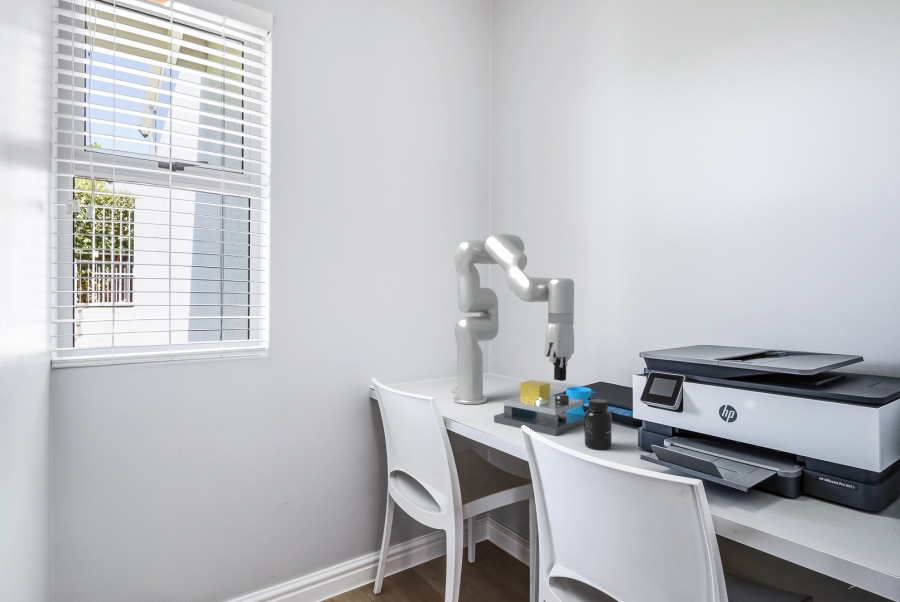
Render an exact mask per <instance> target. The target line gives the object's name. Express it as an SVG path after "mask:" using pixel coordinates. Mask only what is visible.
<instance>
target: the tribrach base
mask: <svg viewBox="0 0 900 602" xmlns="http://www.w3.org/2000/svg"><path fill="white" fill-rule="evenodd" d="M493 422H494V423H497V424H501V425H505V426H509V427H514V428H519V429H521V428H520V427H521V426H522V425H525V426H527V427H529V428H530V429H532V430H534V431H533V432H537V433H540V434H545V435H550V436H554V437H556V436H559V435H561V434H564V433H567V432H569V431H570V430H571V431H572V430H573V429H576V428H578V427H581V426H583V425H585V416H584V415H579V414H573V413H568V412H563V413H560V414H557V415H552V414H547V413H542V412H537V411H531V410H526V409H521V408H516V407H511V406H506V405H505V404H504V405H503V412H500V413H498V414H495V415H493Z"/></svg>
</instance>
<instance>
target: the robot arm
mask: <svg viewBox="0 0 900 602" xmlns="http://www.w3.org/2000/svg"><path fill="white" fill-rule="evenodd" d="M454 251H455V252H454V256H453V257H454V266H455V270H456V278H457V279H456V280H457V281H456V282H457V285H456V286H457V305H458V308H459V310H460V311H461V312H462V313H467V314H469V313H470V314H472V313H473V314H477V313H478V314H479V316H478V315H474V316H473V315H472V316H463V317H461V318H459V319H458V320H457V321H456V322H455V324H454V328H453V329H454V331H453V332H454V337H455V341H456V342H455V343H456V353H457V355H456V357H457V358H456V359H457V361H456V362H457V364H456V365H457V367H456V369H457V387H456V386H453V388H452V389H451V390H450V392H451V393H452V394H455V396H454V397H453V402H454V403H456V404H461V405H462V404H463V405H479V404H484V403H486V402H488V397H487V396H485V395H484V367H483V366H484V357H483V356H484V355H483V351H482V350H483V349H482V348H481V346H480V344H479V342H487V341H488V342H489V341H493V340H494V339H495V338H497V336H498V333H499V327H500V326H499V301H498V300H499V299H498V295H497V294H496V292H495V291H494V290H493V289H492V288H489V287H481V275H480V273H479V270H478V269H477V266H475V265H476V264H479V265H480V264H482V265H497V264H498V266H499V267H500V268H501V269H503V271H504V272H505V280H506V284H507V286H508V287H509V289H510V290H511V291H512V292H513V293H514V295H515V296H517V297H518V298H519V299H520V300H522V301H524V302H527V303H537V302H539V303H543V302H544V303H545V302H546V303H547V302H548V304H547V307H548V308H547V311H548V312H547V314H548V315H547V325H546V331H545V338H544V340H545V341H544V355H545V357H547V358H549V359H548V361H549V362H550V363H552V365H553V371H554V372H553V380H555V381H561V382H564V381H566V380H567V367H568V362H569V360H570V359H571V358H572V355H574V353H575V333H574V332H575V330H574V324H575V323H574V321H575V320H574V319H575V281H574V280H573V279H572V278H565V277H560V278H558V277H557V278H551V277H534V276H533V277H530V276H528V275H527V274H526V272H524V269H525V268H526V266H527V265H528V257H527V255H526V254H525V244H524V241H523V239H522V238H521V237H520V236H518V235H515V234H507V233H506V234H505V233H494V234H491V235H490V236H488V237H487V238H486V240H481V239H468V240H464V241H462V242H460V243H459V244H458V246H457V247H456V249H455V250H454Z"/></svg>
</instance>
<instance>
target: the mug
mask: <svg viewBox="0 0 900 602" xmlns="http://www.w3.org/2000/svg"><path fill="white" fill-rule="evenodd" d="M592 393H596V392H595V391H593V390H592V389H591V388H590V387H583V386H570V387H566V389H565V394H566V395H569V398H571V399H578V400H583V405H584V404H586V403H588V402H589V400H588V398H589V397H590V396H591V397H592ZM566 412H568V413H573V414H579V415H584V416H585V412H584V410H583V407H582V406H580V407H577V408H574V409H571V410H568V411H566Z"/></svg>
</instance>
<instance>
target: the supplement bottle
mask: <svg viewBox="0 0 900 602" xmlns="http://www.w3.org/2000/svg"><path fill="white" fill-rule="evenodd" d="M608 402H609V401H608V400H606V399H600V398H599V399H595V398H593V399H592V398H591V400H589V405H588V407H589V410H587V411H586V412H585V424H584V445H585V447H587V448H589V449H592V450H598V451H599V450H600V451H603V450H605V451H606V450H609V449H610V448H612V442H613V441H612V438H613V437H612V434H613V431H612V429H613V428H612V427H613V425H612V421H613V418H612V414H611V412H610V411H609V410H608V408H609V406H608V405H609V403H608Z"/></svg>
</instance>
